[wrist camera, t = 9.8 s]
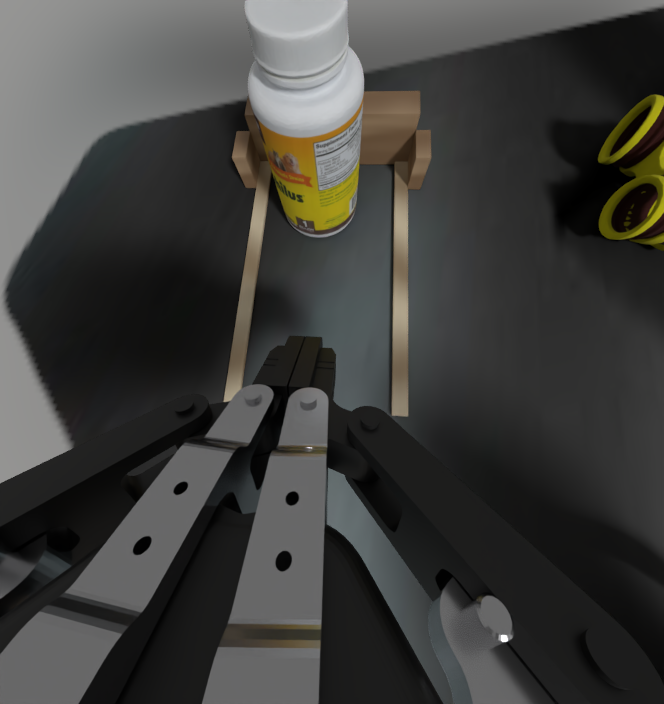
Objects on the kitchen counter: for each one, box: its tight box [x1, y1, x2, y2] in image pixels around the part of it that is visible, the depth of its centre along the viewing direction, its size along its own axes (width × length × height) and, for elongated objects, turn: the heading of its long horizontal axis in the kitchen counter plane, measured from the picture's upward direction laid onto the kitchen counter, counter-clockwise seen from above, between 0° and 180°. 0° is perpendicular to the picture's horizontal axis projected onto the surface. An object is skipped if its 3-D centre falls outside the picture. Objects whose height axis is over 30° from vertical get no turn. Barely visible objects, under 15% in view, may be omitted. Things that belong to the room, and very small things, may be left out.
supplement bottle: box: [244, 0, 364, 238], centre depth 14 cm, size 6×6×10 cm
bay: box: [224, 91, 431, 417], centre depth 16 cm, size 22×14×4 cm, turn 176°
